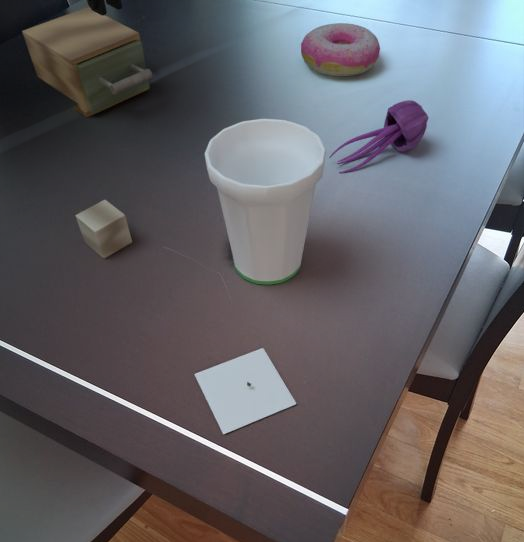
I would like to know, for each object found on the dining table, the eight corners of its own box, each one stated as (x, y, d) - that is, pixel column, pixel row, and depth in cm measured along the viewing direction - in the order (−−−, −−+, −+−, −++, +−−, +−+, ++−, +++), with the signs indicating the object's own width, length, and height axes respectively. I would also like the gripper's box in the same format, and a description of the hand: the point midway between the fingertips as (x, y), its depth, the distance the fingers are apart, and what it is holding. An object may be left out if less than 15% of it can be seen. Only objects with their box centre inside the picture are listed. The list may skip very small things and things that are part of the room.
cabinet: (149, 89, 97) (139, 32, 89) (87, 117, 91) (70, 60, 84) (101, 61, 103) (88, 6, 96) (40, 86, 98) (21, 30, 91)
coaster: (194, 374, 60) (193, 369, 59) (263, 347, 61) (262, 343, 61) (223, 434, 55) (222, 430, 54) (296, 403, 57) (296, 399, 56)
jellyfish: (323, 133, 78) (415, 82, 79) (321, 159, 85) (406, 111, 86) (349, 171, 77) (442, 118, 78) (344, 194, 83) (430, 145, 84)
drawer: (168, 98, 93) (160, 52, 87) (110, 125, 88) (98, 79, 82) (104, 61, 101) (94, 17, 96) (48, 84, 97) (34, 39, 91)
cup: (314, 226, 74) (320, 115, 62) (322, 296, 66) (331, 185, 54) (218, 229, 74) (206, 119, 62) (215, 299, 66) (201, 190, 54)
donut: (392, 73, 98) (396, 43, 94) (322, 89, 95) (324, 59, 91) (354, 41, 106) (357, 12, 102) (289, 55, 103) (290, 26, 99)
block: (104, 259, 71) (94, 231, 67) (84, 242, 73) (74, 215, 69) (132, 242, 73) (125, 214, 69) (113, 226, 75) (104, 199, 71)
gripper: (107, -178, 71) (136, -14, 86) (-9, -154, 65) (44, 19, 79) (142, -169, 68) (167, 0, 82) (24, -143, 61) (73, 36, 76)
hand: (106, 8), depth 81 cm, fingers closed
